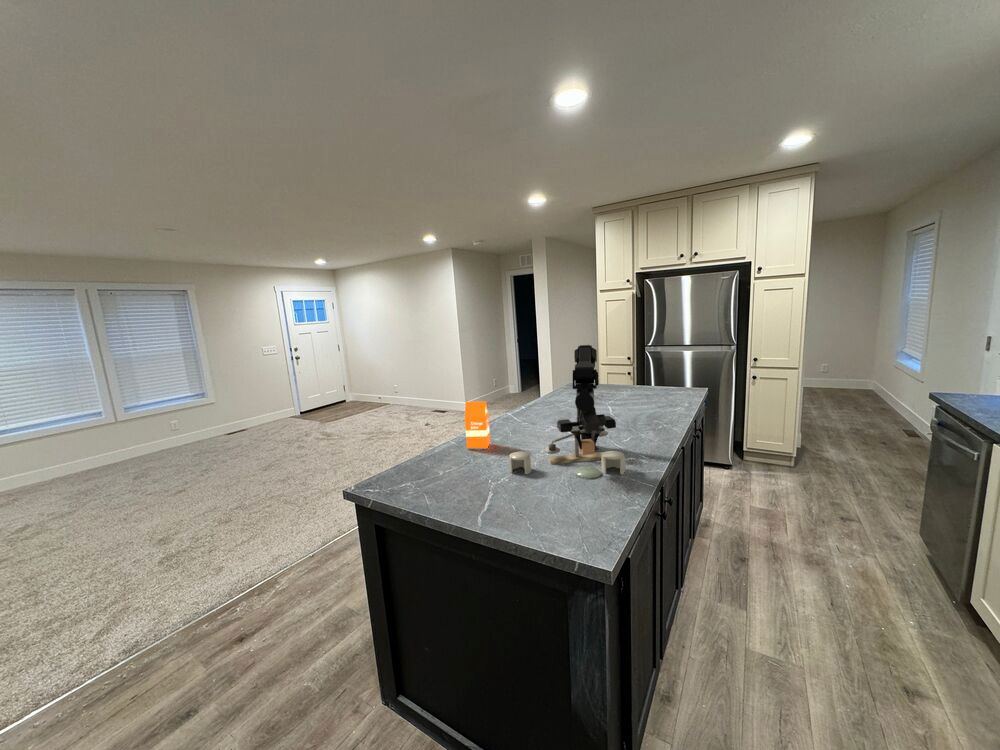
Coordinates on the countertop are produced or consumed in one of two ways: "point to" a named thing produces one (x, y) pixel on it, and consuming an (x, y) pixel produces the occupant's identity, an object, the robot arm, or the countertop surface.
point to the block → (587, 447)
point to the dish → (587, 472)
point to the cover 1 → (520, 461)
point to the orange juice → (477, 425)
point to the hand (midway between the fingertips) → (586, 448)
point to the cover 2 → (613, 460)
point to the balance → (572, 458)
